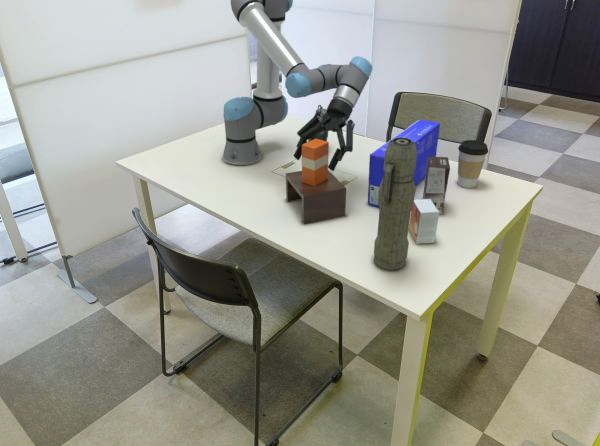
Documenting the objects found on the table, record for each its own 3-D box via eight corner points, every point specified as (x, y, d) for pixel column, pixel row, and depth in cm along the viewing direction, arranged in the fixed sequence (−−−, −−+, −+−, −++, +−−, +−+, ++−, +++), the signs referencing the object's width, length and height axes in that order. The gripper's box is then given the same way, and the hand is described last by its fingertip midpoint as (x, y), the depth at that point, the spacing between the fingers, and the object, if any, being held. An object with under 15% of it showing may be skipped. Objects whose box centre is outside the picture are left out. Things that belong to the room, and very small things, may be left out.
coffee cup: (486, 183, 172) (494, 144, 164) (473, 193, 166) (481, 152, 158) (460, 175, 178) (467, 137, 170) (447, 184, 172) (453, 145, 164)
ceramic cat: (317, 145, 205) (317, 98, 195) (332, 146, 204) (333, 99, 193) (305, 163, 189) (304, 113, 178) (321, 165, 187) (321, 115, 177)
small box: (408, 229, 146) (412, 199, 141) (426, 228, 146) (430, 198, 141) (415, 244, 139) (420, 212, 134) (434, 243, 140) (439, 211, 134)
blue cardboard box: (414, 164, 187) (419, 118, 177) (434, 169, 183) (441, 122, 173) (365, 204, 160) (369, 152, 150) (388, 211, 156) (393, 158, 146)
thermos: (413, 256, 134) (429, 137, 116) (395, 278, 126) (409, 153, 108) (384, 246, 138) (396, 130, 120) (365, 266, 130) (374, 144, 112)
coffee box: (442, 215, 154) (450, 168, 145) (422, 213, 155) (428, 167, 146) (441, 201, 161) (448, 156, 153) (421, 199, 162) (428, 155, 154)
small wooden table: (286, 200, 163) (285, 173, 158) (324, 193, 167) (324, 166, 162) (303, 224, 149) (303, 195, 144) (345, 216, 154) (346, 188, 148)
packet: (301, 182, 152) (301, 144, 146) (315, 174, 157) (315, 138, 150) (314, 186, 149) (314, 148, 143) (328, 178, 154) (328, 141, 148)
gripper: (380, 117, 147) (350, 179, 145) (316, 103, 161) (288, 158, 159) (372, 105, 141) (341, 168, 139) (306, 90, 155) (276, 148, 153)
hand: (312, 163), depth 149 cm, fingers open, 13 cm apart
